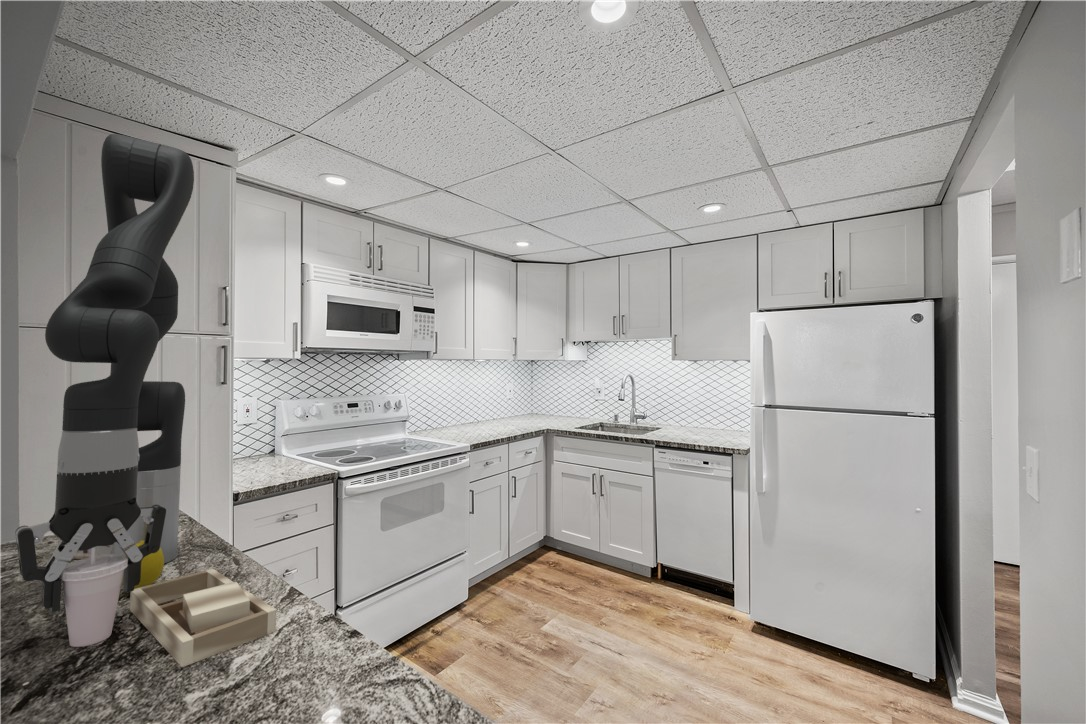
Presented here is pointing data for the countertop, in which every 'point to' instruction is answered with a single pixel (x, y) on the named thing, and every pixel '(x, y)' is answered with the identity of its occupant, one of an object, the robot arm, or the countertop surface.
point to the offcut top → (215, 606)
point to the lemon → (150, 567)
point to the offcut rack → (205, 643)
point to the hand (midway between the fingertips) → (92, 599)
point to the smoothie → (92, 596)
